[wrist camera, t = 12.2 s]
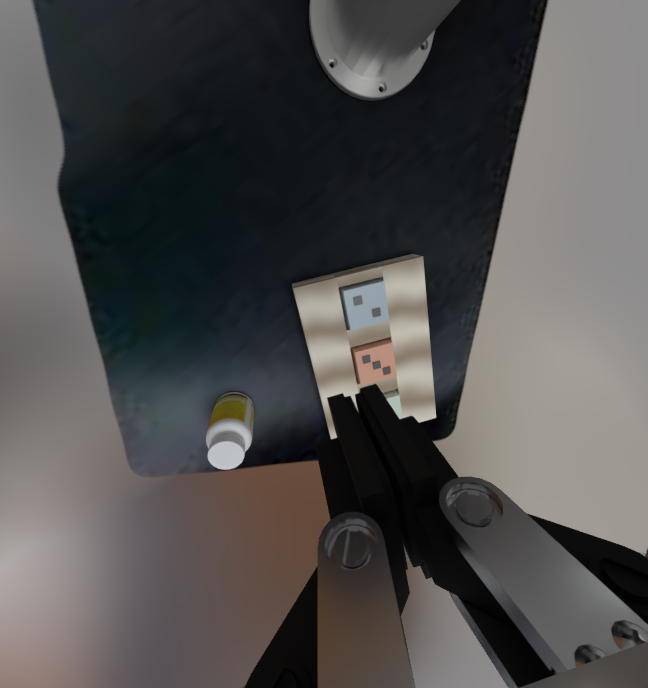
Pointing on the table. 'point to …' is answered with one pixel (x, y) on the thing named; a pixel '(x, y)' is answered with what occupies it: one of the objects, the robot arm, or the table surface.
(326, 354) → the key panel
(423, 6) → the robot arm
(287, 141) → the table surface
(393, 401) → the key one dot
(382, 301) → the key two dots
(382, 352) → the key three dots
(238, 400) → the supplement bottle
